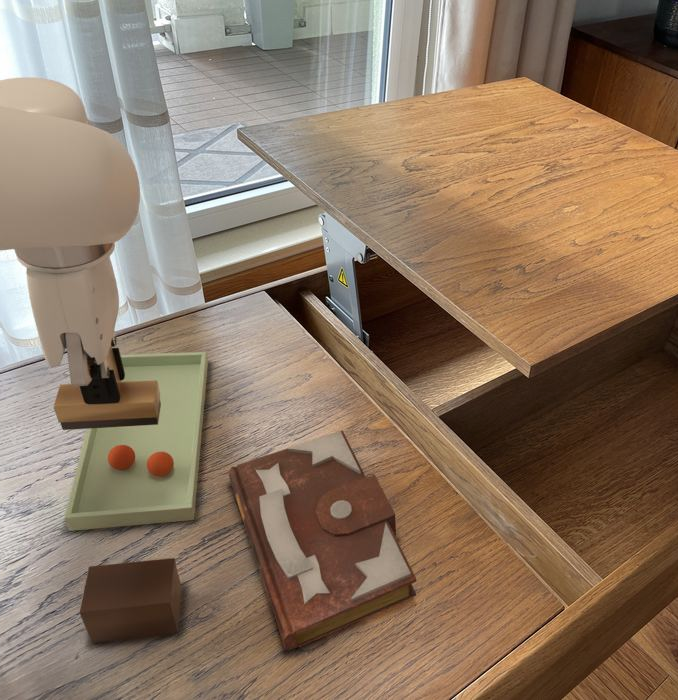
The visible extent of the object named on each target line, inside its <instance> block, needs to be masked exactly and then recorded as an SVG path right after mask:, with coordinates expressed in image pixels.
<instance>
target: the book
mask: <svg viewBox="0 0 678 700" xmlns="http://www.w3.org/2000/svg"><path fill="white" fill-rule="evenodd" d="M227 475H228V479H229V482H230V485H231V488H232V491H233V495H234V498H235V500H236V504H237V506H238V509H239V512H240V515H241V518H242V521H243V525H244V528H245V530H246V534H247V536H248V540H249V543H250V545H251V549H252V552H253V555H254V558H255V561H256V564H257V567H258V570H259V573H260V576H261V579H262V582H263V585H264V588H265V592H266V595H267V598H268V600H269V603H270V607H271V610H272V612H273V615H274V619H275V622H276V624H277V627H278V630H279V633H280V636H281V640H282V643H283V646H284V648H285V650H286V651H293V650H295V649H296V648H301V647H303V646H305V645H308V644H310V643H312V642H315V641H317V640H320V639H321V638H323V637H325V636H329V635H331V634H332V633H335V632H337V631H339V630H342V629H344V628H346V627H348V626H350V625H352V624H355V623H357V622H359V621H362V620H364V619H367V618H368V617H371V616H374V615H375V614H377V613H380V612H383V611H385V610H387V609H389V608H391V607H394V606H396V605H398V604H401V603H402V602H405V601H407V600H409V599H412V598H414V597H416V596H417V592H416V590H415V588H414V586H413V584H414V583H416V582H417V577H416V575H415V573H414V571H413V568H412V567H411V565H410V563H409V561H408V559H407V557H406V555H405V553H404V551H403V549H402V546H401V545H400V543H399V541H398V539H397V529H396V526H397V525H396V524H397V523H396V513H395V511H394V509H393V507H392V505H391V503H390V501H389V499H388V497H387V495H386V493H385V491H384V490H383V488H382V486H381V484H380V482H379V480H378V478H377V476H376V474H372V475H369V476H366V475H365V473H364V471H363V469H362V466H361V464H360V462H359V461H358V459H357V457H356V454H355V453H354V450H353V448H352V446H351V444H350V441H348V438H347V437H346V434H345V432H344V430H343V429H342V430H340V431H336V432H333V433H330V434H327V435H323V436H321V437H318V438H315V439H312V440H309V441H306V442H302V443H300V444H297V445H294V446H290V447H287V448H284V449H281V450H278V451H275V452H271V453H269V454H267V455H263V456H260V457H257V458H254V459H251V460H247V461H245V462H242V463H238V464H237V465H236V466H232V467H231V468H229V470H228V471H227Z"/></svg>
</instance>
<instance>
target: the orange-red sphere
mask: <svg viewBox="0 0 678 700" xmlns="http://www.w3.org/2000/svg"><path fill="white" fill-rule="evenodd" d="M173 466H174V461H173V458H172V456H171V455H170V454H168V453H166V452H156V453H154V454H152V455H151V456H150V457H149V459H148V461H147V469H148V471H149V472H150V473H151V474H152V475H154V476H157V477H162V476H165V475H167V474H169V473H170V472H171V471H172V469H173Z"/></svg>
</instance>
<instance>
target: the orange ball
mask: <svg viewBox="0 0 678 700" xmlns="http://www.w3.org/2000/svg"><path fill="white" fill-rule="evenodd" d="M134 461H135V452H134V450H133V449H132V448H131V447H129V446H127V445H118V446H115V447H114V448H112V449H111V451H110V452H109V454H108V462H109V464H110V466H111V467H113V468H114V469H117V470H124V469H127V468H129V467H130V466H131V465H132V464H133V463H134Z"/></svg>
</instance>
